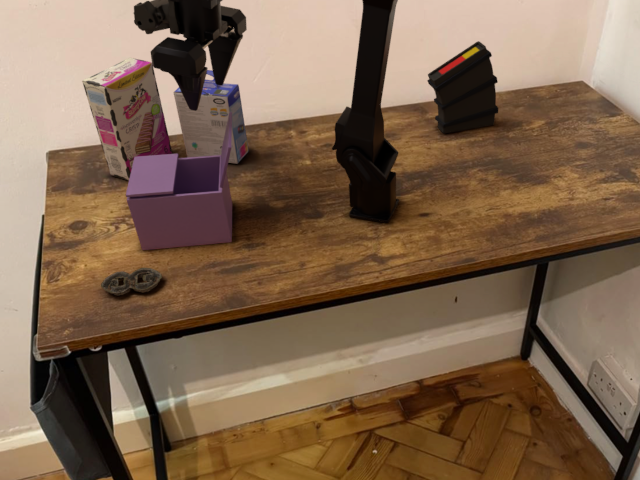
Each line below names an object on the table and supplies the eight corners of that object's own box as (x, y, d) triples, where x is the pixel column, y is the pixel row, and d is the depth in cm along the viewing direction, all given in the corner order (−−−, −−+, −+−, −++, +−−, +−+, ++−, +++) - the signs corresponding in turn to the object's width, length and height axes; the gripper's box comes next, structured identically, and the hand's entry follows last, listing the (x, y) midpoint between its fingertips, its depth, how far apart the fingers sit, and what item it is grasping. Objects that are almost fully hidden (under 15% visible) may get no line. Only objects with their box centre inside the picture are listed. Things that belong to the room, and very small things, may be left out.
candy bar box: (133, 183, 111) (104, 86, 100) (110, 176, 113) (79, 80, 101) (175, 153, 119) (153, 60, 107) (153, 147, 120) (128, 55, 109)
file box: (232, 203, 107) (222, 149, 100) (231, 242, 99) (220, 187, 93) (149, 210, 105) (134, 156, 99) (142, 250, 97) (124, 195, 91)
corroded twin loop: (103, 279, 92) (101, 273, 92) (162, 270, 94) (161, 264, 93) (102, 301, 89) (100, 295, 88) (163, 291, 90) (161, 285, 90)
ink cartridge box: (250, 150, 119) (238, 69, 109) (239, 165, 116) (225, 82, 106) (199, 145, 121) (182, 64, 111) (186, 159, 117) (167, 77, 107)
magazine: (511, 115, 126) (488, 46, 115) (452, 153, 127) (424, 88, 116) (502, 107, 129) (479, 39, 118) (444, 144, 129) (416, 80, 118)
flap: (221, 150, 100) (224, 151, 100) (219, 187, 93) (222, 188, 93) (229, 111, 96) (232, 112, 97) (228, 146, 89) (231, 147, 89)
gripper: (171, -47, 95) (183, 62, 106) (102, -8, 82) (124, 112, 93) (245, -32, 94) (249, 76, 105) (188, 9, 81) (199, 128, 92)
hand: (206, 96), depth 99 cm, fingers open, 9 cm apart
